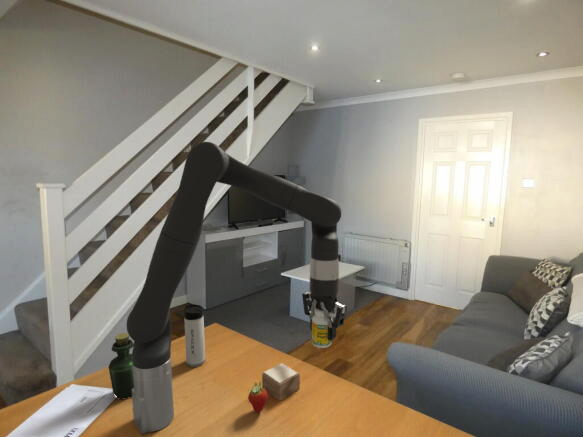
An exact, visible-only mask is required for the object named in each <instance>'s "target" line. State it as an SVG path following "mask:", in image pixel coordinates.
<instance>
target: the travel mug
mask: <svg viewBox="0 0 583 437" xmlns="http://www.w3.org/2000/svg"><path fill="white" fill-rule="evenodd" d="M183 310H184V311H183V314H184V318H183V321H184V336H185V338H184V342H185V359H186V360H185V361H186V362H185V363H186V365H187V366H188V367H190V368H196V367H200V366H202V365H203V364H204V363H205V362H206V350H205V349H206V348H205V346H206V345H205V343H206V342H205V324H204V321H205V320H204V318H205V317H204V307H203V306H202V305H201V304H200V305H199V304H191V303H189V304H186V305H185V306H184V309H183Z"/></svg>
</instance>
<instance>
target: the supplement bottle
mask: <svg viewBox="0 0 583 437" xmlns="http://www.w3.org/2000/svg"><path fill="white" fill-rule="evenodd" d="M330 314H331V312H330V313H329V315H330ZM331 320H332V318H331ZM332 321H333V320H332ZM328 327H329V326H328V322H327V319H325V316H324V313H323V311H321V310H319V309H317V308H316V309H315V315H314V316H313V318H312V332H311V344H312V345H313V346H314V347H316V348H319V349H325V348H329V347H330V346H331V345H332V344H333V343H332V341H333V340H332V341H329V340H328Z"/></svg>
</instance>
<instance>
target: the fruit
mask: <svg viewBox="0 0 583 437" xmlns="http://www.w3.org/2000/svg"><path fill="white" fill-rule="evenodd" d="M264 388H265V387H264ZM264 388H262V381H259V383H257V382H254V386H252V385H251V389H250V390H248V392H249V393H248V398H247V399H248V401H249V403H250V404H251V406H252V409H253V410H254V412H255V413H261V412H262V411H263V409H264V408H265V405H267V401H268V397H269V396H268V394H269V393H268V392H267V391H266V390H265V389H264Z"/></svg>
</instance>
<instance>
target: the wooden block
mask: <svg viewBox="0 0 583 437" xmlns="http://www.w3.org/2000/svg"><path fill="white" fill-rule="evenodd" d="M261 373H262V375H261V380H262V381H261V388H264V387H265V388H264V389H265V390H266V391H267V394H270V395H271V396H272V397H273V398H274V399H276V400H278V402H281V401H283V400H284V399H285V398H288V397H289V396H291V395H292V394H294V393H296V392H297V391H298V390H300V387H301V385H300V384H301V383H300V380H301V379H300V378H301V377H300V374H301V373H299V372H297V371H295V370H294V369H293V368H291V367H289V366H288V365H286V364H284V363H283V362H281V363H279V364H277V365H274V367H273V366H272V368H269V369H267V370H265V371H263V372H261Z"/></svg>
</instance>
